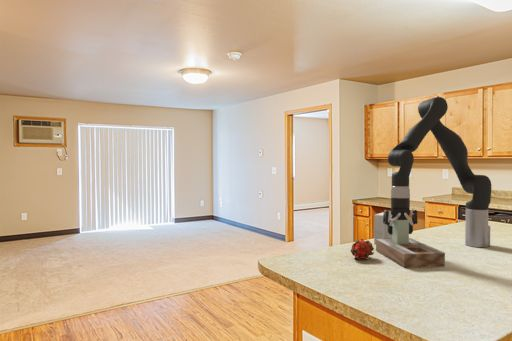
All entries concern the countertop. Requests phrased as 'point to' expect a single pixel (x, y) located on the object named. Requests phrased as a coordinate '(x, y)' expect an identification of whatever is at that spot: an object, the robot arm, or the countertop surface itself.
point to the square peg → (400, 232)
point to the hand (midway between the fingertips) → (400, 234)
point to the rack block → (411, 253)
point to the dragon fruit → (362, 249)
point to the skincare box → (380, 227)
